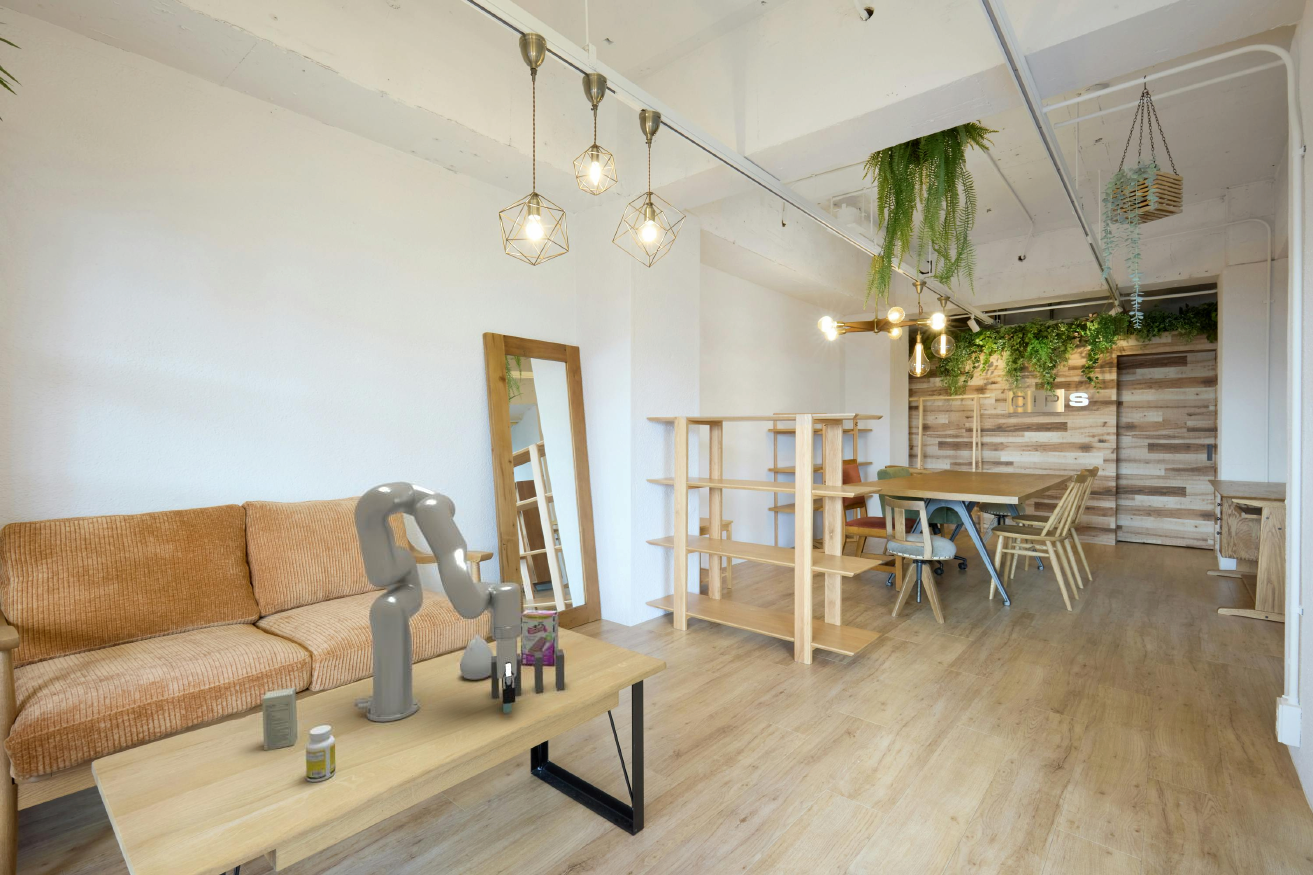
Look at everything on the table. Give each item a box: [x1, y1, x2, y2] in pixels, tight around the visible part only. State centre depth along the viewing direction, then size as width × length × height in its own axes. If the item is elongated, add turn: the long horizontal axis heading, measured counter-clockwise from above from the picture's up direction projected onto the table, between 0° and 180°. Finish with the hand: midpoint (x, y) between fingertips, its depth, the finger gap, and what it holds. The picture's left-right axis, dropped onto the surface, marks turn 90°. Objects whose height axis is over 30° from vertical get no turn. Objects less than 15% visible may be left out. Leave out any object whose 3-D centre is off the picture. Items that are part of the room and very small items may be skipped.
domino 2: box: [502, 675, 512, 714], centre depth 159 cm, size 2×5×10 cm, turn 16°
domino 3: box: [514, 652, 522, 697], centre depth 169 cm, size 2×5×10 cm, turn 15°
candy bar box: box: [520, 609, 559, 667], centre depth 192 cm, size 11×5×16 cm, turn 84°
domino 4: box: [533, 651, 544, 694], centre depth 171 cm, size 2×5×10 cm, turn 16°
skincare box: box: [261, 687, 298, 751], centre depth 141 cm, size 6×4×12 cm
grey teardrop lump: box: [459, 634, 495, 681], centre depth 182 cm, size 10×10×12 cm
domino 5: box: [554, 648, 565, 692], centre depth 173 cm, size 2×5×10 cm, turn 15°
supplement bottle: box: [305, 724, 336, 783], centre depth 127 cm, size 5×5×10 cm
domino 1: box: [490, 655, 500, 700], centre depth 168 cm, size 2×5×10 cm, turn 16°
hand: (508, 695), depth 159 cm, fingers open, 9 cm apart
